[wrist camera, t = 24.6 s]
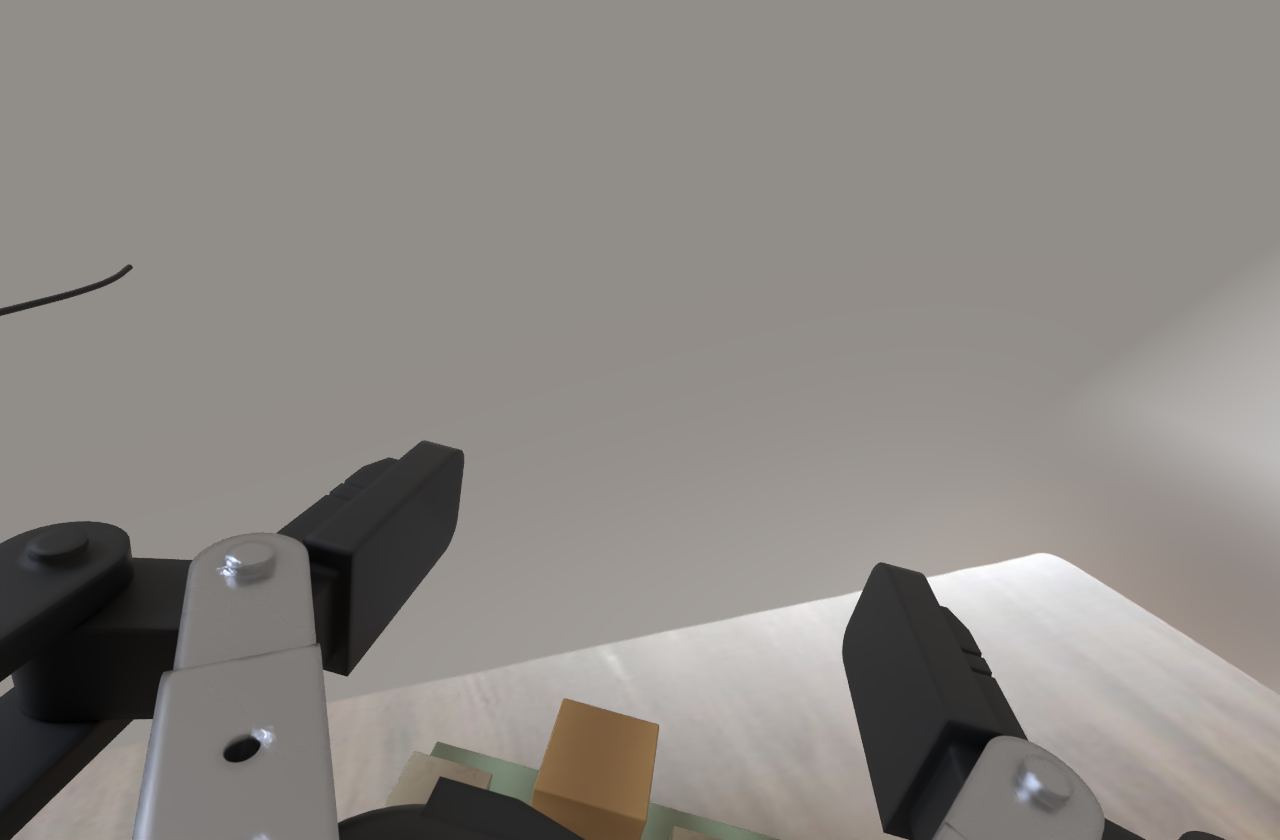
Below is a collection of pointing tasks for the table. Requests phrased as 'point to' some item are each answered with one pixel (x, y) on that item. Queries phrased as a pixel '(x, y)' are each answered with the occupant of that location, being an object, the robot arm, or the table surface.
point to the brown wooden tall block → (597, 773)
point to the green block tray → (665, 834)
